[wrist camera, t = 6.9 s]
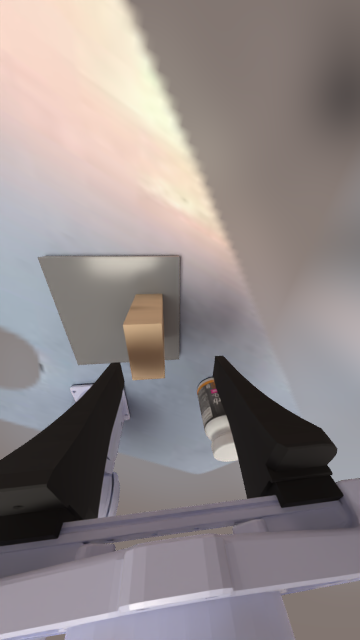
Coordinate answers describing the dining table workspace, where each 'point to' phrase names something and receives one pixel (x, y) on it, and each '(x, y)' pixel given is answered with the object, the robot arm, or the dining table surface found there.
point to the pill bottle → (216, 422)
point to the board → (111, 300)
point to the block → (145, 337)
